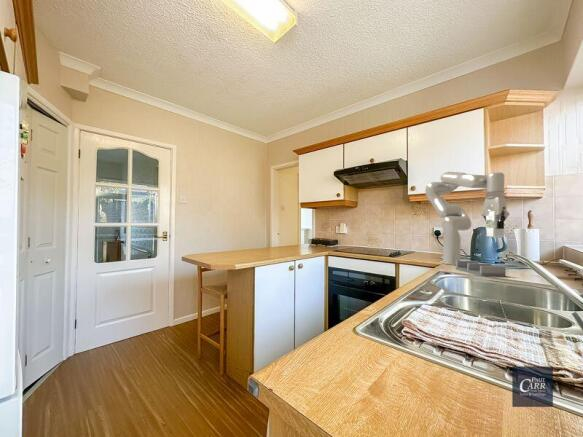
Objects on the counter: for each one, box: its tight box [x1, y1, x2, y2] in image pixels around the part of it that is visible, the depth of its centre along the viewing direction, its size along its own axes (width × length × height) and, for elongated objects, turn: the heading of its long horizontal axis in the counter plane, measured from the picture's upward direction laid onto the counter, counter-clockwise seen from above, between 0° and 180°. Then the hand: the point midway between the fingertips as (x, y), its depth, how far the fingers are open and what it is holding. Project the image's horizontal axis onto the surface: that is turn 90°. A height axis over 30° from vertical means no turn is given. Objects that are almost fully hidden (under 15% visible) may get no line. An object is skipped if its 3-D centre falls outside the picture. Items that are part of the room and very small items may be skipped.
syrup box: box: [485, 211, 505, 239], centre depth 133 cm, size 6×6×14 cm
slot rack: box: [455, 260, 507, 277], centre depth 132 cm, size 17×13×5 cm
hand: (494, 228), depth 133 cm, fingers closed on syrup box, 5 cm apart
